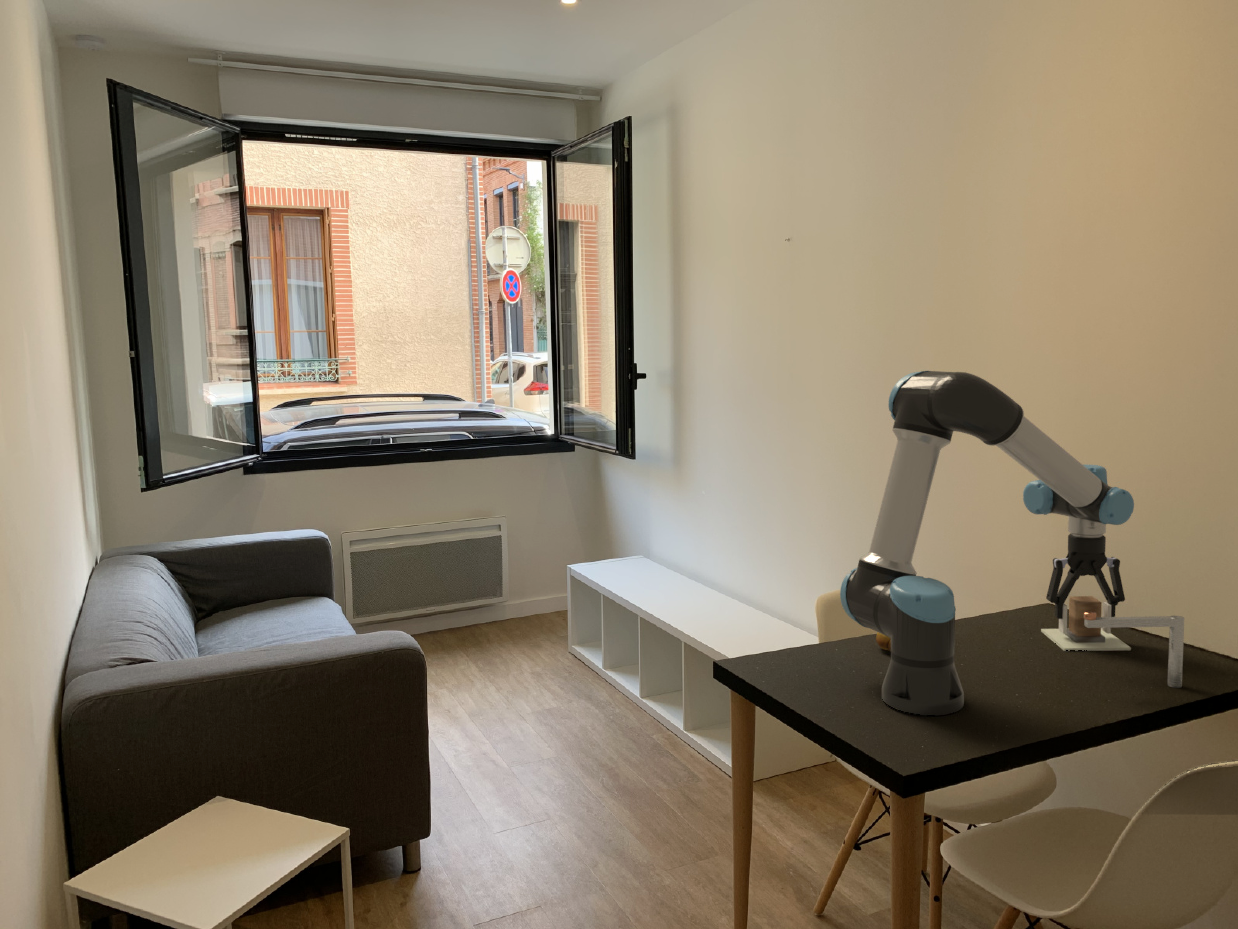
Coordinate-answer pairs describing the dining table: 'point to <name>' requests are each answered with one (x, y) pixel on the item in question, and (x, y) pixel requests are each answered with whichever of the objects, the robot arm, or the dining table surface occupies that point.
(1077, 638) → the brown boxy piece
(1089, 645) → the sage mat
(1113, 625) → the grey l-shaped handle
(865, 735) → the dining table surface
